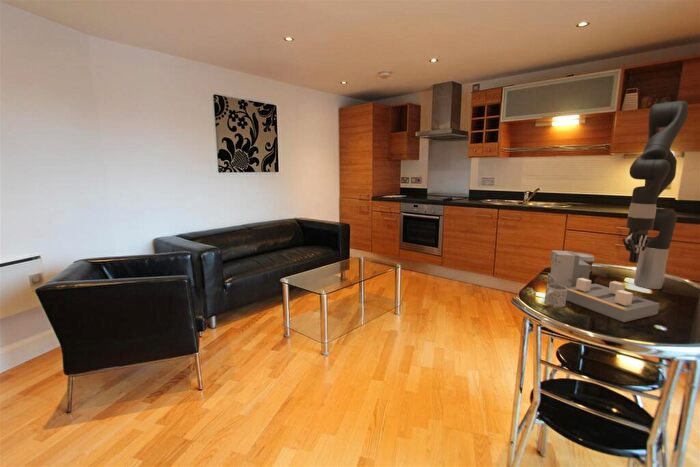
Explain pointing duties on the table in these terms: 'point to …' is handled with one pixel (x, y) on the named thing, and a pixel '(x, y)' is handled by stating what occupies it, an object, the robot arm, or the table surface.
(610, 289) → the handle
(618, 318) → the slider control panel
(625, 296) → the handle
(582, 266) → the circuit breaker
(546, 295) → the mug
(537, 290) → the table surface
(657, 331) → the table surface
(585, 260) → the disposable coffee cup
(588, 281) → the handle
